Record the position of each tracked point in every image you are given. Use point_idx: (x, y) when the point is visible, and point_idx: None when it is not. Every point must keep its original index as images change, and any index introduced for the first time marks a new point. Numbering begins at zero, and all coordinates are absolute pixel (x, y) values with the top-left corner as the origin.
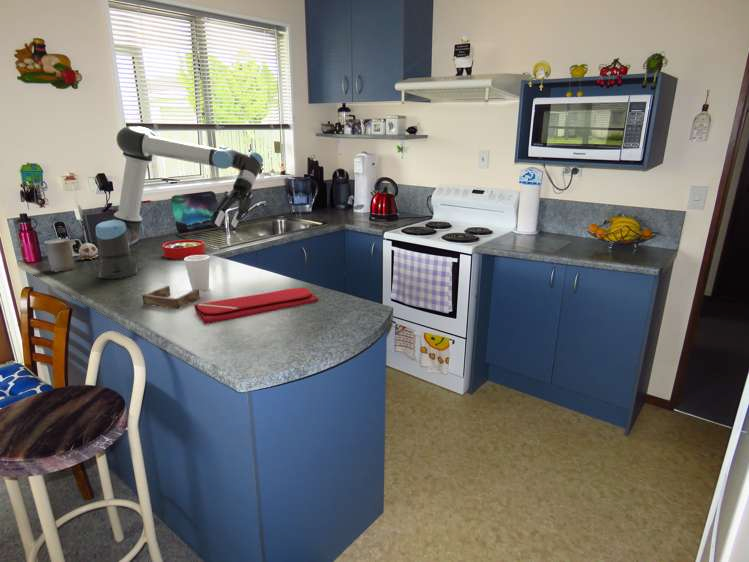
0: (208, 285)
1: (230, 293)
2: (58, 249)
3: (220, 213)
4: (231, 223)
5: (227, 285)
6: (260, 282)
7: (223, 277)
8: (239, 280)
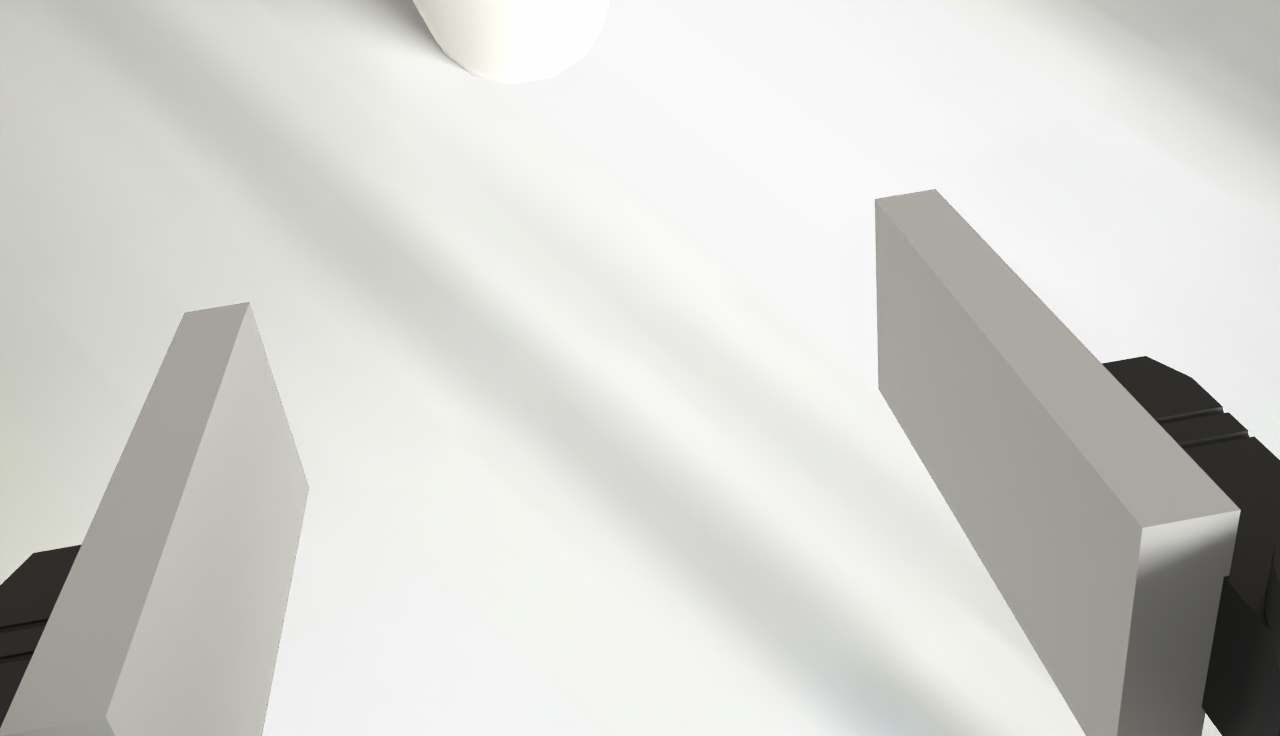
0: (426, 24)
1: (90, 56)
2: None
3: (1048, 413)
4: (226, 313)
5: (337, 241)
6: (25, 539)
7: (650, 460)
8: (350, 466)
